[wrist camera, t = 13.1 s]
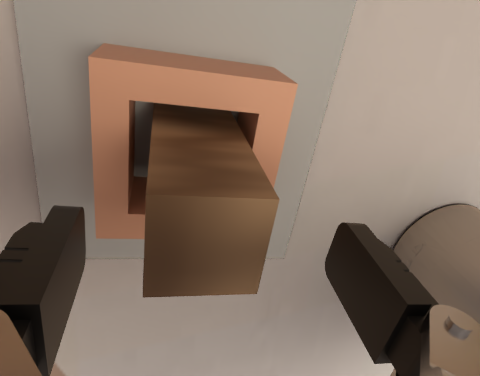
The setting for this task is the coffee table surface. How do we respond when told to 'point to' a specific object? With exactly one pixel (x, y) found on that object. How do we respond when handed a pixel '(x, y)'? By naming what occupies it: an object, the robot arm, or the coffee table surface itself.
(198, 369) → the coffee table surface
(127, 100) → the socket block
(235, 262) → the walnut peg
